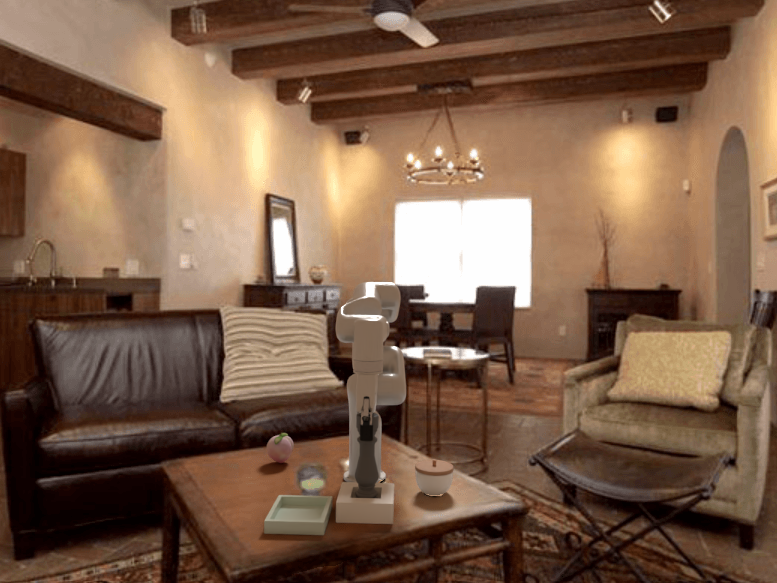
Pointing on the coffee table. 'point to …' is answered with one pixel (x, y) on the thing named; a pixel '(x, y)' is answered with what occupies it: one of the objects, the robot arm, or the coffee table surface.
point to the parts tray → (299, 515)
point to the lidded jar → (434, 476)
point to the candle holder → (367, 462)
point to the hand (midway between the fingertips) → (367, 436)
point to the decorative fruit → (280, 447)
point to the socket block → (365, 505)
